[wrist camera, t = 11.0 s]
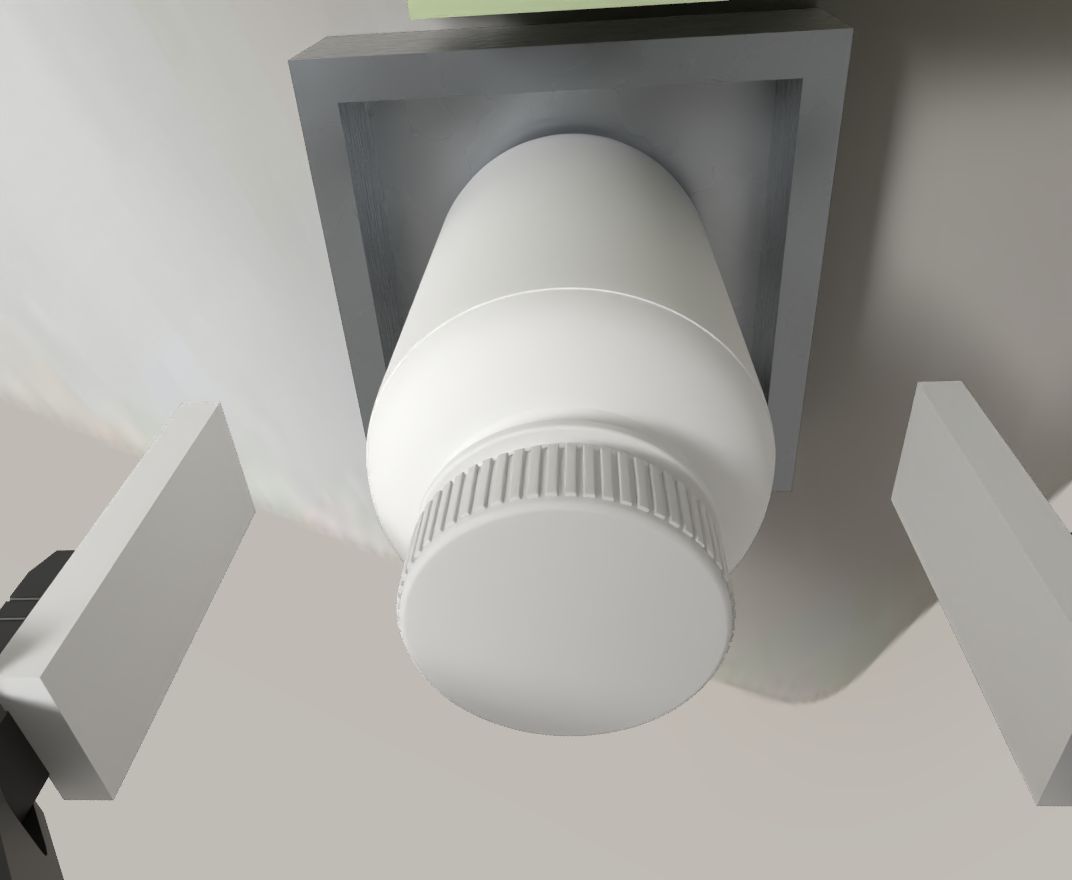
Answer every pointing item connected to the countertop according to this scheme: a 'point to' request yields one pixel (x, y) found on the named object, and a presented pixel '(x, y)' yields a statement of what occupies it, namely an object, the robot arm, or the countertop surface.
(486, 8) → the green roller box
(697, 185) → the grey square tray
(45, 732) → the robot arm
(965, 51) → the countertop surface
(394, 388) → the pill bottle
